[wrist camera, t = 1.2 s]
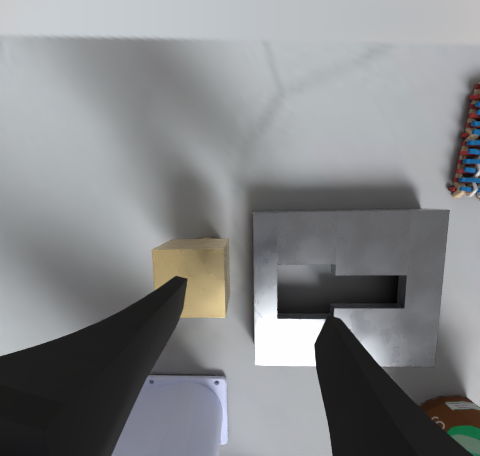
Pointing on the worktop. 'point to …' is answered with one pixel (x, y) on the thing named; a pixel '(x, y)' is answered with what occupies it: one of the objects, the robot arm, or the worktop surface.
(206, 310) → the brass peg
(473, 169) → the woven mat
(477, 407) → the food container
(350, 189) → the worktop surface
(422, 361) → the keyhole plate
